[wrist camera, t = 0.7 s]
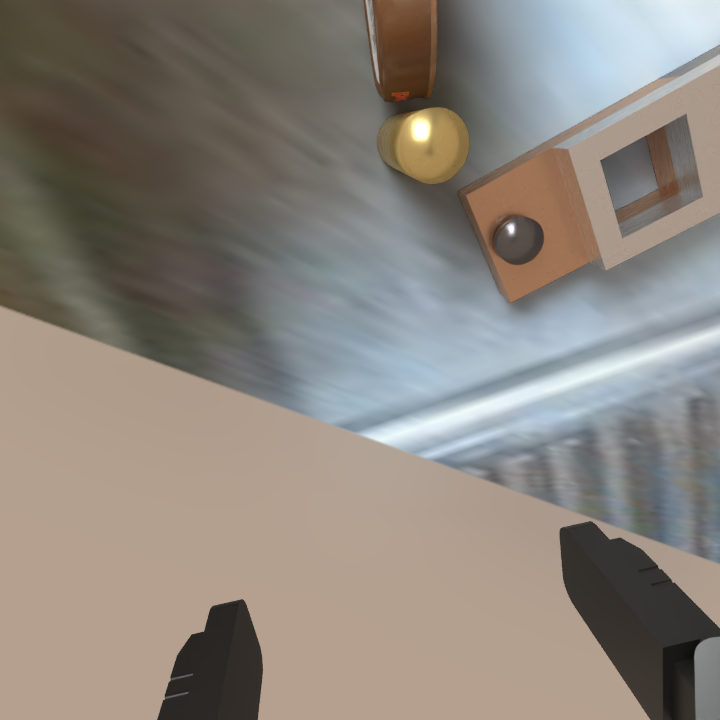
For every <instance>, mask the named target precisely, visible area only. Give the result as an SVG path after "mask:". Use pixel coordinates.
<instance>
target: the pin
mask: <svg viewBox="0 0 720 720" xmlns="http://www.w3.org/2000/svg"><path fill="white" fill-rule="evenodd" d="M377 148H378V152H379V154H380V156H381V158H382V159H383V161H384V162H385V163H386V164H388V165H389V166H391V167H393V168H395V169H397V170H399V171H401V172H403V173H404V174H406V175H408V176H410V177H412V178H414V179H416V180H418V181H420V182H423V183H427V184H437V183H442V182H445V181H447V180H449V179H450V178H452V177H453V176H454V175H456V174H457V173H458V171H459V170H460V169H461V168H462V166H463V164H464V163H465V161H466V158H467V155H468V151H469V135H468V131H467V128H466V126H465V124H464V122H463V121H462V119H461V118H460V117H459V116H458V115H457V114H456V113H454V112H453V111H451V110H448V109H446V108H441V107H433V108H428V109H422V110H417V111H412V112H406V113H401V114H396V115H394V116H392V117H390V118H389V119H387V120H386V121H385V122H384V123H383V125H382V126H381V128H380V130H379V133H378V137H377Z"/></svg>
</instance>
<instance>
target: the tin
mask: <svg viewBox="0 0 720 720" xmlns="http://www.w3.org/2000/svg"><path fill="white" fill-rule="evenodd" d="M364 7H365V15H366V23H367V31H368V39H369V46H370V54H371V61H372V68H373V74H374V80H375V85H376V88H377V91H378V93H379V95H380V96H381V97H382V98H383V99H384V101H386V102H395V101H402V100H407V99H413V98H419V97H423V98H424V99H428V98H430V96H431V95H432V92H433V87H434V81H435V74H436V63H437V0H364Z"/></svg>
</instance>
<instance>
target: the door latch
mask: <svg viewBox="0 0 720 720" xmlns="http://www.w3.org/2000/svg"><path fill="white" fill-rule="evenodd" d="M644 136H646V138H647V142H648V146H649V151H650V155H651V159H652V163H653V167H654V172H655V176H656V180H657V184H658V188H659V189H658V190H656V191H654V192H652V193H650V194H648V195H646V196H644V197H642V198H641V199H639V200H637V201H635V202H633V203H631V204H629V205H627V206H625V207H623V208H622V209H620V210H618V211H616V212H615V211H614V207H613V204H612V200H611V197H610V193H609V190H608V186H607V183H606V179H605V176H604V172H603V169H602V165H601V162H600V160H602V159H604V158H605V157H607V156H609V155H611V154H613V153H615V152H616V151H618V150H620V149H622V148H624V147H626V146H627V145H629V144H631V143H633V142H635V141H637V140H638V139H640V138H642V137H644ZM457 192H458V195H459V197H460V199H461V202H462V204H463V206H464V209H465V211H466V213H467V216H468V218H469V221H470V223H471V225H472V228H473V230H474V232H475V235H476V237H477V239H478V242H479V244H480V247H481V249H482V251H483V254H484V256H485V258H486V261H487V263H488V265H489V268H490V270H491V272H492V275H493V277H494V280H495V282H496V284H497V287H498V289H499V291H500V294H502V295H503V296H504V297H505V298H506V299H507V300H508V301H509V302H510V303H511V302H513V301H515V300H517V299H519V298H521V297H523V296H525V295H527V294H529V293H531V292H533V291H535V290H537V289H538V288H540V287H542V286H544V285H546V284H548V283H550V282H552V281H554V280H556V279H558V278H560V277H562V276H564V275H566V274H568V273H570V272H572V271H573V270H575V269H577V268H579V267H581V266H583V265H585V264H587V263H591V264H593V265H595V266H597V267H599V268H601V269H603V270H605V271H606V270H608V269H610V268H612V267H614V266H616V265H618V264H620V263H622V262H624V261H626V260H628V259H630V258H632V257H634V256H636V255H638V254H640V253H642V252H644V251H646V250H648V249H650V248H652V247H653V246H655V245H657V244H659V243H661V242H663V241H665V240H667V239H669V238H671V237H673V236H675V235H677V234H679V233H681V232H683V231H685V230H687V229H689V228H691V227H693V226H695V225H697V224H699V223H701V222H703V221H705V220H706V219H708V218H710V217H712V216H714V215H716V214H718V213H720V45H718V46H717V47H715V48H713V49H711V50H709V51H708V52H706V53H704V54H702V55H700V56H699V57H697V58H695V59H693V60H692V61H690V62H688V63H686V64H684V65H683V66H681V67H679V68H677V69H675V70H674V71H672V72H670V73H668V74H667V75H665V76H663V77H661V78H659V79H658V80H656V81H654V82H652V83H650V84H649V85H647V86H645V87H643V88H642V89H640V90H638V91H636V92H634V93H633V94H631V95H629V96H627V97H625V98H624V99H622V100H620V101H618V102H617V103H615V104H613V105H611V106H609V107H608V108H606V109H604V110H602V111H600V112H599V113H597V114H595V115H593V116H592V117H590V118H588V119H586V120H584V121H583V122H581V123H579V124H577V125H575V126H574V127H572V128H570V129H568V130H566V131H565V132H563V133H561V134H559V135H558V136H556V137H554V138H552V139H550V140H549V141H547V142H545V143H543V144H541V145H540V146H538V147H536V148H534V149H533V150H531V151H529V152H527V153H525V154H524V155H522V156H520V157H518V158H516V159H515V160H513V161H511V162H509V163H508V164H506V165H504V166H502V167H500V168H499V169H497V170H495V171H493V172H491V173H490V174H488V175H486V176H484V177H483V178H481V179H479V180H477V181H475V182H474V183H472V184H470V185H468V186H466V187H465V188H463V189H461V190H459V191H457Z"/></svg>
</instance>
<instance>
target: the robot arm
mask: <svg viewBox="0 0 720 720" xmlns="http://www.w3.org/2000/svg"><path fill="white" fill-rule="evenodd" d="M560 546H561V558H562V571H563V580H564V584H565V587H566V590H567V593H568V595H569V597H570V599H571V601H572V603H573V605H574V606H575V608H576V609H577V611H578V612H579V614H580V615H581V617H582V618H583V620H584V621H585V623H586V624H587V626H588V627H589V629H590V630H591V632H592V633H593V635H594V636H595V638H596V639H597V641H598V642H599V644H600V645H601V647H602V648H603V650H604V651H605V652H606V654H607V656H608V657H609V659H610V660H611V661H612V663H613V664H614V666H615V667H616V669H617V670H618V672H619V673H620V675H621V676H622V678H623V679H624V681H625V682H626V684H627V685H628V687H629V688H630V690H631V691H632V693H633V694H634V696H635V697H636V699H637V700H638V702H639V703H640V705H641V706H642V708H643V709H644V711H645V712H646V714H647V715H648V717H649V718H650V719H651V720H720V628H719V627H718V626H717V625H716V624H715V623H714V622H713V621H712V620H711V619H710V618H709V617H708V616H707V615H706V614H705V613H704V612H703V611H702V610H701V609H700V608H699V607H698V606H697V605H696V604H695V603H694V602H693V601H692V600H691V599H690V598H689V597H688V596H687V595H686V594H685V593H684V592H683V591H682V590H681V589H680V588H679V587H678V586H677V585H676V584H675V583H672V581H671V579H670V578H669V577H668V576H667V575H666V574H665V573H664V571H663V570H661V569H659V568H658V565H657V564H656V563H655V562H654V561H652V559H651V558H650V557H649V556H647V554H646V553H645V552H644V551H643V550H641V549H640V548H638V547H636V546H634V545H632V544H631V543H629V542H627V541H625V540H623V539H622V538H617V539H612V540H609V539H608V537H607V536H606V535H605V534H604V533H603V532H602V531H601V530H600V529H599V528H598V527H597V525H595V524H594V523H593V522H591V521H589V522H585V523H581V524H576V525H571V526H567V527H563V528H561V529H560ZM262 674H263V664H262V654H261V649H260V645H259V642H258V639H257V636H256V633H255V629H254V626H253V624H252V621H251V617H250V614H249V611H248V608H247V605H246V603H245V601H244V600H243V599H241V600H237V601H233V602H228V603H224V604H219V605H215V606H212V608H211V609H210V612H209V615H208V619H207V623H206V627H205V631H204V632H201V633H196V634H192V635H191V636H190V638H189V639H188V641H187V642H186V643H185V645H184V646H183V648H182V649H181V651H180V652H179V654H178V655H177V658H176V661H175V664H174V668H173V671H172V674H171V681H170V682H169V683H168V687H167V690H166V694H165V700H163V703H162V706H161V709H160V713H159V716H158V719H157V720H258V711H259V702H260V693H261V684H262Z"/></svg>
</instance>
